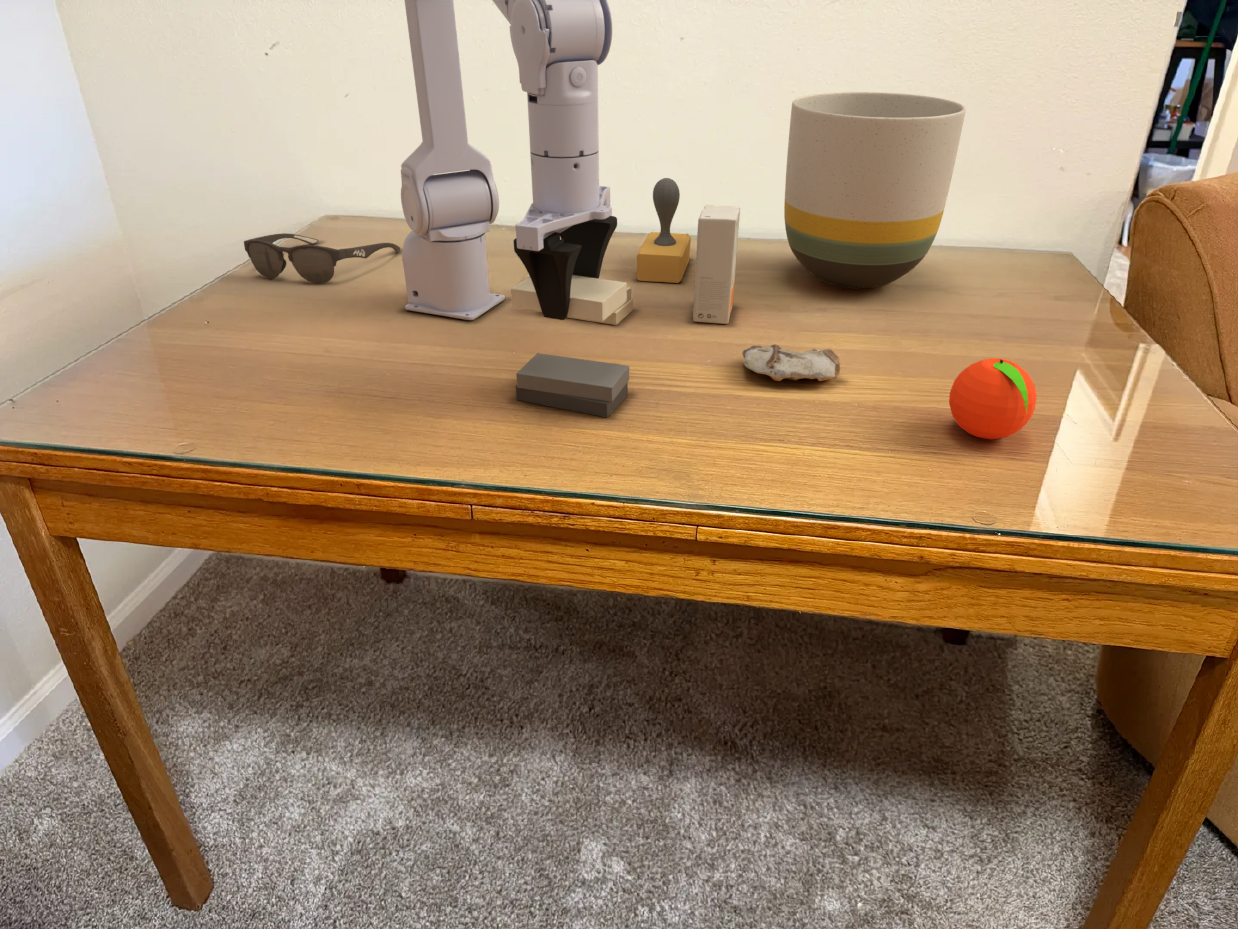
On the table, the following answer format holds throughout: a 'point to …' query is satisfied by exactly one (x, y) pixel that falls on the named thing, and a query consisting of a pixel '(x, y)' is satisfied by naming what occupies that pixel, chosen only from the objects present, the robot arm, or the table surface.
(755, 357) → the stone
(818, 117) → the planter
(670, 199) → the rubber stamp
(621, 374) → the grey books
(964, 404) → the clementine
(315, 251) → the sunglasses
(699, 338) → the table surface
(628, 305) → the white books
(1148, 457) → the table surface
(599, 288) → the cream rectangular block
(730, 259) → the cosmetic box
